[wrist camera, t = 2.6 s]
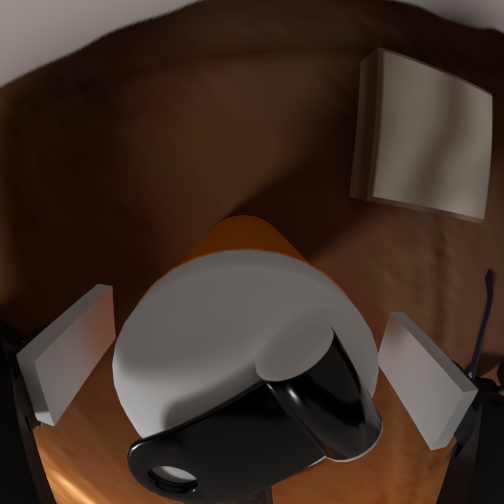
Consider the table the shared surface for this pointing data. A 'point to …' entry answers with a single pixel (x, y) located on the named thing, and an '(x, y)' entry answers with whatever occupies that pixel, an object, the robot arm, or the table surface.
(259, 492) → the dark angular channel piece
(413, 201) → the block
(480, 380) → the sunglasses
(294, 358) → the shaker bottle
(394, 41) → the table surface
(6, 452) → the robot arm
